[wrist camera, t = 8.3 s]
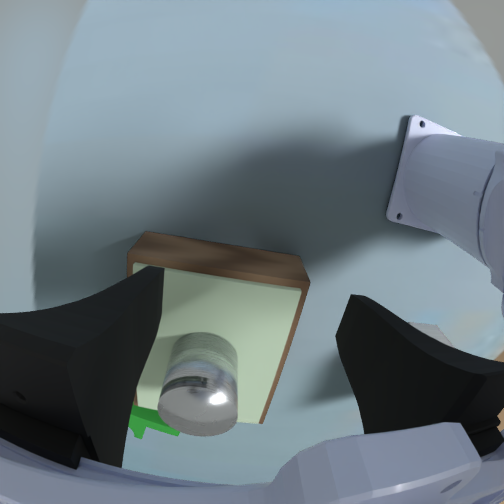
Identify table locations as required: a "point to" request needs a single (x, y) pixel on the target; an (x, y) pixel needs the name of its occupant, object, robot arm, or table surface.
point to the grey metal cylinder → (200, 385)
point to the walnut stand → (223, 310)
